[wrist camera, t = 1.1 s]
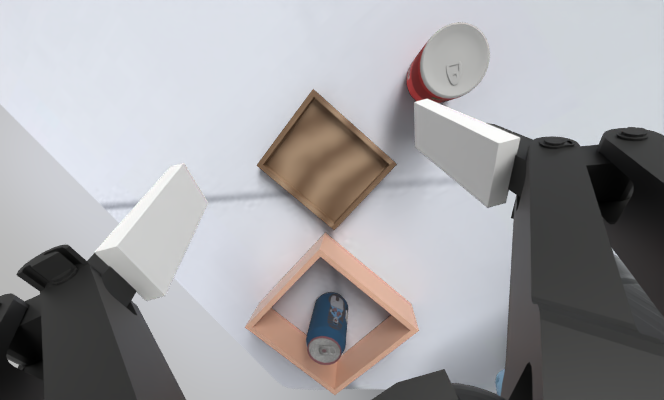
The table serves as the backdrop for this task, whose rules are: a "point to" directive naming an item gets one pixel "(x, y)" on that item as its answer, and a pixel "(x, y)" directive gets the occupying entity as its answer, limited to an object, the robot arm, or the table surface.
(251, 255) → the table surface
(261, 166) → the walnut tray
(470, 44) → the canned food
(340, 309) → the soda can
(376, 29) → the table surface
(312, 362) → the terracotta sleeve
